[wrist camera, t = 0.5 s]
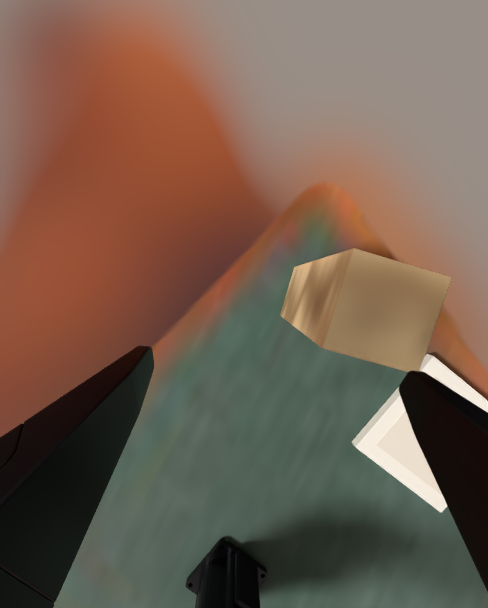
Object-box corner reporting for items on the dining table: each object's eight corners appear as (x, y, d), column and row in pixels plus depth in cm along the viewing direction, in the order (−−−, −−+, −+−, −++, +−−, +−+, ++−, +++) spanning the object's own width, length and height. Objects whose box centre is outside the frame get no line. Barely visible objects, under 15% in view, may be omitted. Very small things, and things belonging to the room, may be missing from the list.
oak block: (327, 328, 24) (417, 374, 12) (280, 315, 23) (322, 348, 11) (342, 280, 23) (452, 277, 11) (294, 266, 23) (354, 248, 11)
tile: (434, 505, 25) (441, 513, 25) (351, 441, 25) (355, 447, 24) (510, 422, 25) (519, 427, 24) (427, 353, 24) (434, 356, 23)
